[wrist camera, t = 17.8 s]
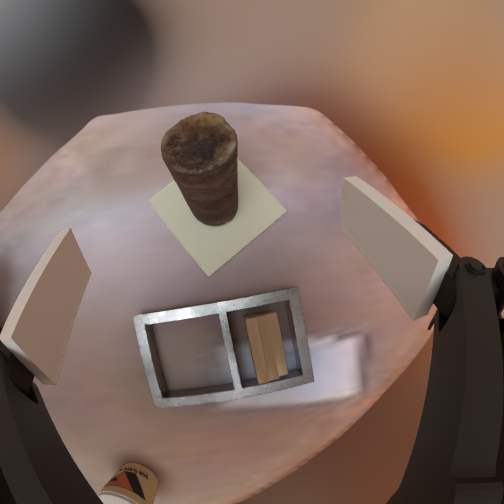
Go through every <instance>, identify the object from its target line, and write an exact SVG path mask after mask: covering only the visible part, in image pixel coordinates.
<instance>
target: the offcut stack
mask: <svg viewBox="0 0 504 504" xmlns="http://www.w3.org/2000/svg"><path fill="white" fill-rule="evenodd" d="M244 320H245V325H246V330H247V335H248V340H249V345H250V350H251V355H252V360H253V364H254V369H255V373H256V377H257V380H258V383H259V384H262V383H267V382H269V381H270V380H275V379H279V376H282V375H286V374H288V370H287V364H286V359H285V354H284V348H283V343H282V338H281V332H280V327H279V322H278V317H277V312H274V311H272V310H271V311H266V312H261V313H256V314H251V315H246V316H244Z"/></svg>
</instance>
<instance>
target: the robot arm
mask: <svg viewBox="0 0 504 504" xmlns="http://www.w3.org/2000/svg"><path fill="white" fill-rule="evenodd" d="M340 229H341V230H342V231H343V232H344V233H345V234H346V235H347V237H348V238H349V239H350V240H351V241H352V243H353V244H354V245H355V246H356V247H357V249H358V250H359V251H360V252H361V253H362V255H363V256H364V257H365V258H366V259H367V261H368V262H369V263H370V264H371V266H372V267H373V268H374V269H375V271H376V272H377V273H378V275H379V276H380V277H381V278H382V280H383V281H384V282H385V284H386V285H387V286H388V287H389V289H390V290H391V291H392V293H393V294H394V295H395V297H396V298H397V299H398V301H399V302H400V304H401V305H402V306H403V308H404V309H405V310H406V312H407V313H408V315H409V316H410V317H411V319H412V320H413V321H414V320H416V319H418V318H421V317H423V316H425V315H427V314H428V312H429V310H430V308H431V306H432V304H433V303H434V304H435V306H436V307H437V308H438V309H437V311H436V313H435V315H434V317H433V319H432V320H431V322H430V324H429V327H428V330H430V329H431V327H432V326H433V324H434V336H433V349H432V359H431V367H430V373H429V380H428V386H427V392H426V397H425V403H424V407H423V412H422V416H421V421H420V425H419V429H418V433H417V437H416V440H415V443H414V447H413V450H412V454H411V456H410V460H409V463H408V466H407V469H406V471H405V474H404V477H403V479H402V482H401V484H400V487H399V488H398V490H397V491H396V493H395V494H394V495H393V496H392V497H391V498H390V499H389V500H388V502H387V503H386V504H504V318H502V316H501V312H502V310H503V309H504V257H500V258H499V259H498V260H497V262H496V265H495V267H494V268H486V267H485V266H484V265H483V264H482V263H481V262H480V261H478V260H477V259H475V258H472V257H467V256H466V257H462V258H460V257H459V256H458V255H457V254H456V253H455V252H454V251H453V250H452V249H451V248H450V247H449V246H447V245H446V244H445V243H444V242H443V241H442V240H441V239H438V237H437V236H436V235H435V234H434V233H432V231H431V230H430V229H428V228H427V227H426V226H425V225H423V224H422V223H420V222H418V221H416V220H414V219H412V218H411V217H410V216H408V215H407V214H406V213H405V212H404V211H402V210H401V209H400V208H399V207H397V206H396V205H395V204H394V203H392V202H391V201H390V200H388V199H387V198H386V197H384V196H383V195H382V194H380V193H379V192H378V191H376V190H375V189H374V188H372V187H371V186H370V185H368V184H367V183H365V182H364V181H363V180H361V179H360V178H358V177H357V176H354V177H343V188H342V203H341V215H340ZM90 276H91V271H90V269H89V267H88V265H87V263H86V261H85V259H84V257H83V255H82V252H81V250H80V248H79V246H78V244H77V242H76V239H75V237H74V235H73V232H72V230H71V228H69V229H65V230H62V231H59V232H58V233H57V235H56V236H55V238H54V239H53V240H52V242H51V243H50V245H49V246H48V248H47V249H46V251H45V252H44V254H43V255H42V257H41V259H40V260H39V262H38V263H37V265H36V267H35V268H34V270H33V271H32V273H31V275H30V277H29V278H28V280H27V282H26V283H25V285H24V287H23V289H22V291H21V292H20V294H19V296H18V298H17V300H16V302H15V304H14V306H13V308H12V310H11V312H10V314H9V316H8V318H7V320H6V322H5V325H4V327H3V329H2V328H1V327H0V504H104V503H103V502H102V501H101V499H100V498H99V497H98V496H97V494H96V493H95V492H94V490H93V489H92V487H91V486H90V485H89V483H88V482H87V480H86V479H85V477H84V476H83V474H82V473H81V471H80V470H79V468H78V467H77V465H76V463H75V462H74V460H73V459H72V457H71V455H70V454H69V452H68V450H67V448H66V447H65V445H64V443H63V441H62V439H61V437H60V435H59V434H58V432H57V430H56V428H55V426H54V424H53V422H52V419H51V417H50V415H49V413H48V411H47V408H46V406H45V404H44V402H43V399H42V397H41V394H40V392H39V389H38V387H37V386H36V384H34V383H33V378H34V376H35V377H36V378H37V379H38V380H40V381H41V382H42V383H43V384H49V385H57V382H58V377H59V373H60V369H61V365H62V361H63V357H64V353H65V349H66V346H67V342H68V339H69V335H70V332H71V329H72V326H73V322H74V319H75V316H76V313H77V310H78V308H79V305H80V302H81V299H82V296H83V294H84V291H85V288H86V286H87V283H88V281H89V278H90Z"/></svg>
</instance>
